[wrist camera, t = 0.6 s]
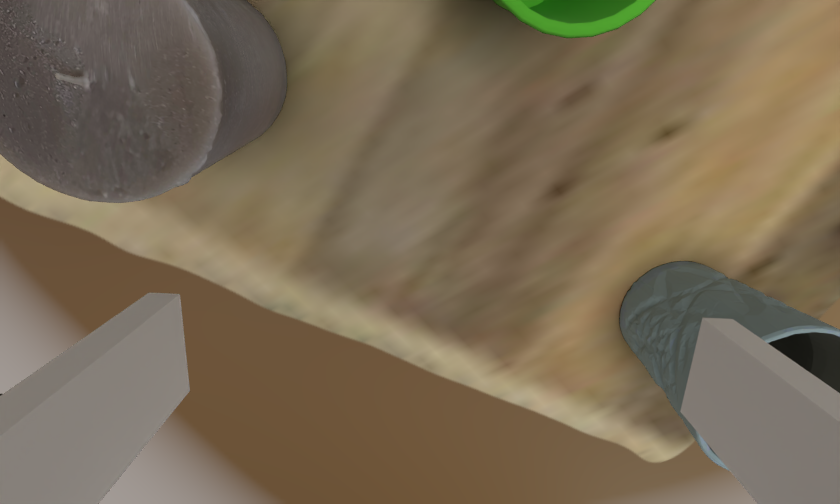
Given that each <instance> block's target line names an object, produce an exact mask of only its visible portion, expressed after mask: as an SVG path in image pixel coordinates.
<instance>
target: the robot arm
mask: <svg viewBox="0 0 840 504" xmlns="http://www.w3.org/2000/svg"><path fill="white" fill-rule="evenodd" d="M189 391H190V388H189V378H188V368H187V359H186V349H185V340H184V330H183V320H182V310H181V301H180V294H166V293H148V294H146V295H145V296H143V297H142V298H141V299H139V300H138V301H136V302H135V303H134V304H132V305H131V306H129V307H128V308H126V309H125V310H123V311H122V312H121V313H119V314H118V315H116V316H115V317H113V318H112V319H110V320H109V321H108V322H106V323H105V324H103V325H102V326H100V327H99V328H97V329H96V330H95V331H93V332H92V333H90V334H89V335H87V336H86V337H84V338H83V339H82V340H80V341H79V342H77V343H76V344H74V345H73V346H72V347H70V348H69V349H67V350H66V351H64V352H63V353H61V354H60V355H59V356H57V357H56V358H54V359H53V360H52V361H50V362H49V363H47V364H46V365H44V366H43V367H41V368H40V369H39V370H37V371H36V372H34V373H33V374H31V375H30V376H28V377H27V378H26V379H24V380H23V381H21V382H20V383H19V384H17V385H15V386H14V387H13V388H11V389H10V390H8V391H7V392H5V393H4V394H0V504H99V503H100V501H101V500H102V499H103V498H104V496H105V495H106V494H107V493H108V491H109V490H110V489H111V488H112V486H113V485H114V484H115V483H116V482H117V480H118V479H119V478H120V477H121V475H122V474H123V473H124V472H125V470H126V469H127V468H128V467H129V465H130V464H131V463H132V462H133V460H134V459H135V458H136V457H137V455H138V454H139V453H140V452H141V451H142V449H143V448H144V447H145V446H146V444H147V443H148V442H149V440H150V439H151V438H152V437H153V436H154V434H155V433H156V432H157V430H158V429H159V428H160V427H161V426H162V424H163V423H164V422H165V421H166V420H167V418H168V417H169V416H170V415H171V413H172V412H173V411H174V410H175V408H176V407H177V406H178V405H179V403H180V402H181V401H182V399H183V398H184V397H185V396H186V395H187V393H188V392H189ZM680 412H681V413H682V414H683V415H684V417H685V418H686V419H687V420H688V421H689V423H690V424H691V425H692V426H693V427H694V429H695V430H696V431H697V432H698V433H699V435H700V436H701V437H702V438H703V439H704V440H705V442H706V443H707V444H708V445H709V446H710V448H711V449H712V450H713V451H714V452H715V454H716V455H717V456H718V457H719V458H720V460H721V461H722V462H723V463H724V464H725V466H726V467H727V468H728V469H729V470H730V471H731V473H732V474H733V475H734V476H735V477H736V479H737V480H738V481H739V482H740V483H741V485H742V486H743V487H744V488H745V489H746V490H747V492H748V493H749V494H750V495H751V496H752V498H753V499H754V500H755V501H756V502H757V504H840V393H839V392H837V391H836V390H834V389H833V388H831V387H830V386H829V385H827V384H826V383H824V382H823V381H821V380H820V379H818V378H817V377H816V376H814V375H813V374H811V373H810V372H808V371H807V370H805V369H804V368H803V367H801V366H800V365H798V364H797V363H795V362H794V361H792V360H791V359H790V358H788V357H787V356H785V355H784V354H782V353H781V352H779V351H778V350H777V349H775V348H774V347H772V346H771V345H769V344H768V343H767V342H765V341H764V340H762V339H761V338H759V337H758V336H756V335H755V334H754V333H752V332H751V331H749V330H748V329H746V328H745V327H743V326H742V325H741V324H739V323H738V322H736V321H735V320H733V319H722V318H702V322H701V326H700V330H699V334H698V339H697V343H696V347H695V351H694V356H693V360H692V364H691V368H690V373H689V377H688V381H687V385H686V390H685V394H684V398H683V402H682V406H681V411H680Z"/></svg>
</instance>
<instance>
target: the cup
mask: <svg viewBox="0 0 840 504" xmlns="http://www.w3.org/2000/svg"><path fill="white" fill-rule="evenodd" d="M493 1H494V2H495V3H496V4H497V5H499V6H501V7H502V8H504V9H506V10H508V11H510V12H511V13H513V14H514V15H515V16H516V17H517V18H518V19H519V20H520V21H521V22H523V23H525V24H527V25H529V26H531V27H533V28H534V29H536V30H538V31H540V32H542V33H545V34H550V35H555V36H559V37H564V38H580V37H593V36H596V35H599V34H603V33H606V32H609V31H612V30H615V29H618V28H619V27H621V26H623V25H624V24H626V23H628V22H629V21H631V20H633V19H634V18H636V17H638V16H639V15H641V14H642V13H643V12H644V11H645V10H646V9H647V8H648V7H649V6H650V5H651V4H652V3H653V2H654V1H656V0H493Z"/></svg>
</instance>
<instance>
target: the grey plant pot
mask: <svg viewBox="0 0 840 504" xmlns="http://www.w3.org/2000/svg"><path fill="white" fill-rule="evenodd" d="M702 318H722V319H733V320H735V321H736V322H738V323H739V324H741V325H742V326H743V327H745V328H746V329H748V330H749V331H751V332H752V333H754V334H755V335H756V336H758V337H759V338H761V339H762V340H764V341H765V342H767V343H768V344H769V345H771V346H772V347H774V348H775V349H777V350H778V351H779V352H781V353H782V354H784V355H785V356H787V357H788V358H790V359H791V360H792V361H794V362H795V363H797V364H798V365H800V366H801V367H803V368H804V369H805V370H807V371H808V372H810V373H811V374H813V375H814V376H816V377H817V378H818V379H820V380H821V381H823V382H824V383H826V384H827V385H829V386H830V387H831V388H833V389H834V390H836V391H837V392H839V393H840V330H839V329H837V328H835V327H833V326H831V325H828V324H826V323H824V322H821V321H820V320H818V319H815V318H813V317H811V316H809V315H807V314H805V313H802V312H800V311H798V310H796V309H794V308H792V307H789V306H787V305H786V304H784V303H782V302H780V301H778V300H775V299H773V298H771V297H767V296H765V295H764V294H763V293H762V292H760V291H758V290H755V289H753V288H750V287H748V286H747V285H746V284H743V283H740V282H738V281H737V280H733V279H728V278H727V277H726V276H725V275H724V274H722V273H720V272H718V271H716V270H714V269H712V268H710V267H707V266H705V265H702V264H699V263H695V262H690V261H678V262H671V263H667V264H663V265H661V266H658V267H656V268H653V269H651V270H650V271H649V272H647V273H646V274H644V275H643V276H642V277H640V278H639V279H638V281H637V282H634V283H633V285H632V286H631V289H630V290H629V291H628V292H627V295H626V296H625V298H624V301H623V303H622V307H621V311H620V318H619V319H620V328H621V331H622V335H623V337H624V339H625V341H626V342H627V344H628V345H629V346H630V348H631V349H632V351H633V352H634V353H635V354H636V356H637V357H638V358H639V359H640V361H641V362H642V363H643V364H644V366H645V367H646V369H647V371H648V372H649V374H650V375H651V377H652V378H653V379H654V381H655V383H656V384H657V385H659V386H660V387H661V388H663V390H664V392H665V393H666V395H667V398H668V399H669V401H670V403H671V405H672V407H673V408H674V409H675V411H676V412H677V413H678V415H679V416H680V417H681V418H682V419H683V421H684V423H685V425H686V426H687V428H688V429H689V431H690V432H691V434H692V435H693V437H694V438H695V440H696V441H697V442H698V444H699V446H700V447H701V449H702V450H703V451H704V453H705V454H706V455H707V457H709V458H710V459H711V460H712V461H713V462H714V463H716V464H717V465H719V466H721V467H723V468H725V469H727V470H729V469H728V468H727V467H726V466H725V464H724V463H723V462H722V461H721V460H720V458H719V457H718V456H717V455H716V454H715V452H714V451H713V450H712V449H711V448H710V446H709V445H708V444H707V443H706V442H705V440H704V439H703V438H702V437H701V436H700V435H699V433H698V432H697V431H696V430H695V429H694V427H693V426H692V425H691V424H690V423H689V421H688V420H687V419H686V418H685V417H684V415H683V414H682V413H681V412H680V411H681V406H682V402H683V398H684V394H685V390H686V385H687V381H688V377H689V373H690V368H691V364H692V360H693V356H694V351H695V347H696V343H697V339H698V334H699V330H700V326H701V322H702ZM729 471H730V470H729Z"/></svg>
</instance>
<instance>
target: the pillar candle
mask: <svg viewBox="0 0 840 504" xmlns="http://www.w3.org/2000/svg"><path fill="white" fill-rule="evenodd" d="M286 91H287V74H286V63H285V58H284V55H283V51H282V48H281V45H280V43H279V40H278V38H277V36H276V34H275V32H274V31H273V29H272V28H271V26H270V25H269V23H268V22H267V20H266V19H265V18H264V16H263V15H262V14H261V13H260V12H259V11H257V10H256V9H255V8H254V7H253V6H252V5H251V4H250V3H249V2H248V1H247V0H0V154H1V155H2V156H3V157H4V158H5V159H6V160H8V161H9V162H10V163H12V164H13V165H14V166H15V167H16V168H17V169H19V170H20V171H22V172H23V173H25V174H26V175H28V176H29V177H31V178H32V179H34V180H36V181H37V182H39V183H41V184H43V185H45V186H46V187H49V188H51V189H53V190H56V191H58V192H61V193H64V194H67V195H70V196H73V197H76V198H79V199H83V200H88V201H97V202H109V203H110V202H113V203H124V202H133V201H140V200H144V199H148V198H152V197H154V196H157V195H160V194H162V193H164V192H166V191H169V190H170V189H172V188H174V187H178V186H180V185H184V184H186V183H188V182H189V180H190V179H191V177H193V176H195V175H196V174H198V173H200V172H201V171H202V170H204V169H206V168H208V167H210V166H211V165H213V164H214V163H216V162H218V161H219V160H221V159H223V158H224V157H226V156H228V155H230V154H231V153H233V152H235V151H236V150H238V149H239V148H241V147H243V146H244V145H246V144H248V143H249V142H251V141H253V140H255V139H256V138H258V137H259V136H260V135H262V134H263V133H264V132H265V131H266V130H267V129H268V128H269V127H270V126H271V125H272V123H273V122H274V120H275V119H276V118H277V116H278V114H279V112H280V111H281V108H282V106H283V103H284V100H285V97H286Z"/></svg>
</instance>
